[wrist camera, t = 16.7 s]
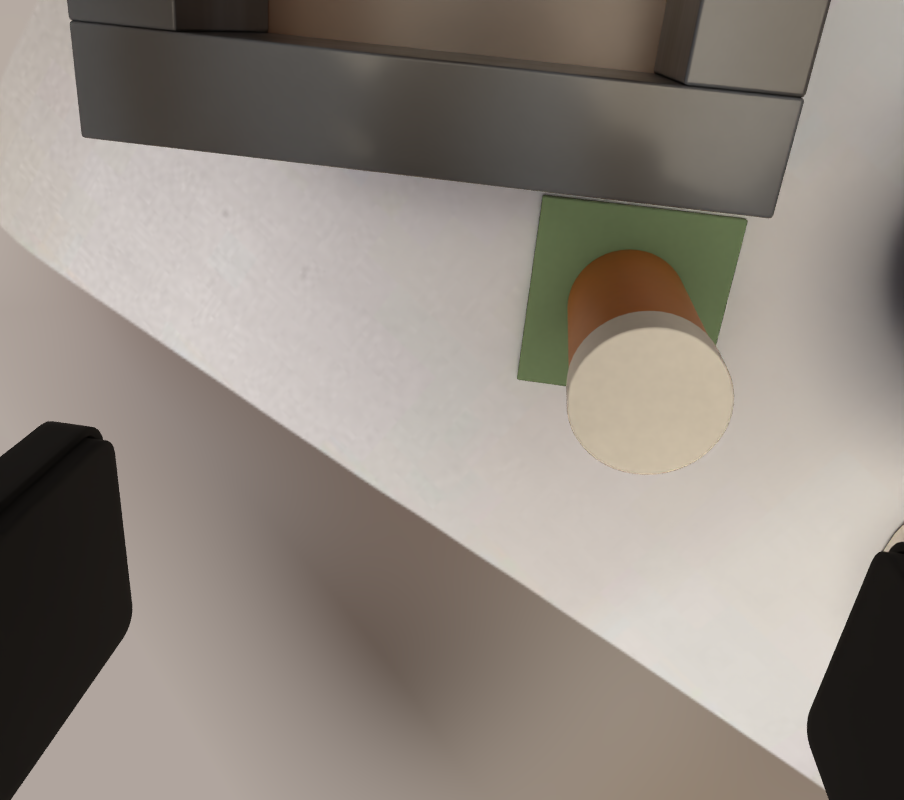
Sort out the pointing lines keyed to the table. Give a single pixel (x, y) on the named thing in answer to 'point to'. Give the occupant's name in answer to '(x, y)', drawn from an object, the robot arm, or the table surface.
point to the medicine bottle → (642, 367)
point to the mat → (612, 229)
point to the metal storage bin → (467, 89)
